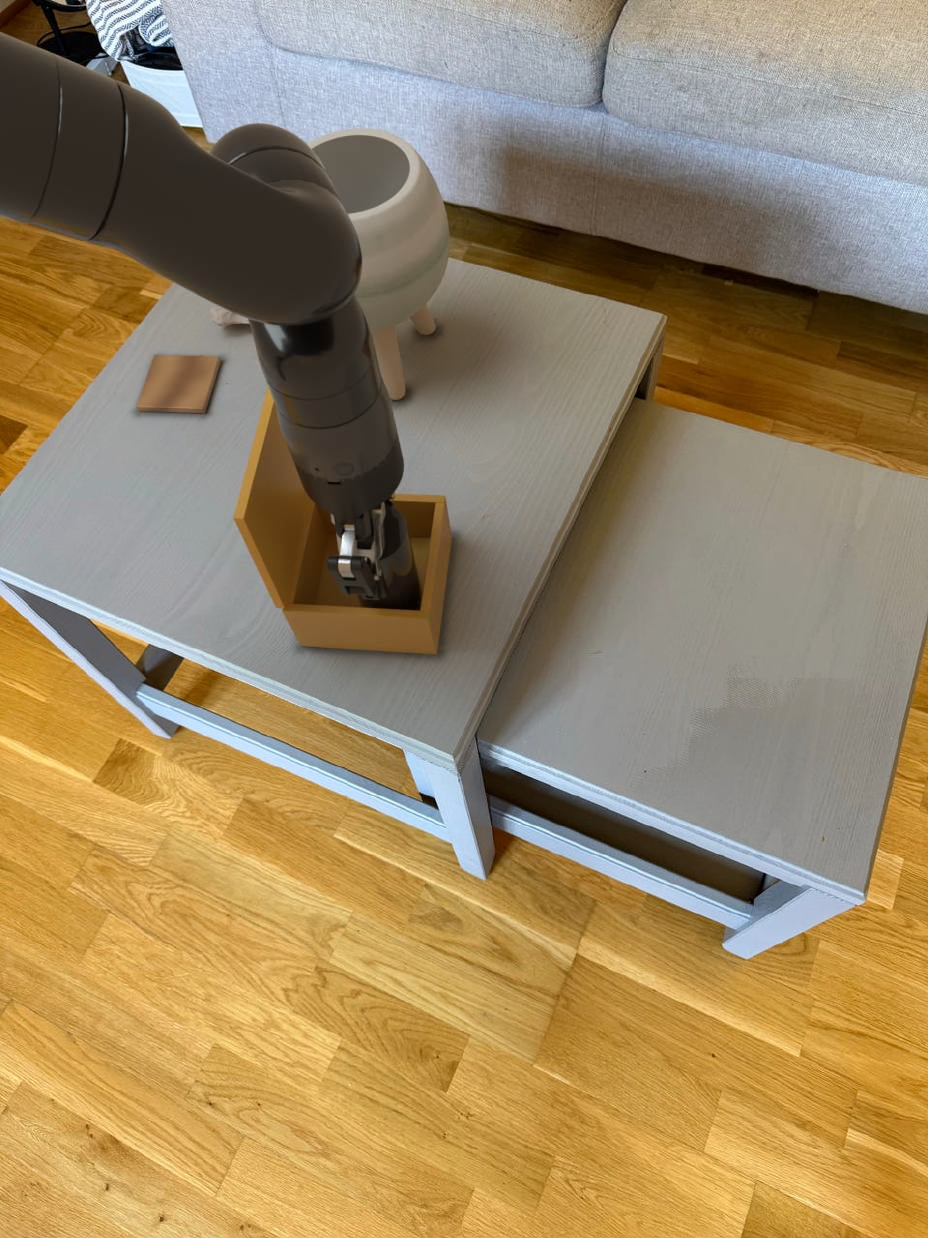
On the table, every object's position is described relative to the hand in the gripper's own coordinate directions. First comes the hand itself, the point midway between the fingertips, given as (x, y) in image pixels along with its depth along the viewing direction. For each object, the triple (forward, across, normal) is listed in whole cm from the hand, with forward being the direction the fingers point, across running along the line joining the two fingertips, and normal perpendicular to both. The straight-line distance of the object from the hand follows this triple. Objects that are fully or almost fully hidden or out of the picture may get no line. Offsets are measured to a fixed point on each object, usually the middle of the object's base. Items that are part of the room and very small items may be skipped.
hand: (380, 560), depth 76 cm
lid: (-6, -2, -7) cm, 10 cm away
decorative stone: (+9, -37, -22) cm, 44 cm away
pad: (+8, -26, -28) cm, 39 cm away
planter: (+9, -31, -5) cm, 32 cm away
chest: (+8, -2, -2) cm, 9 cm away
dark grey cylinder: (+8, 0, 0) cm, 8 cm away
